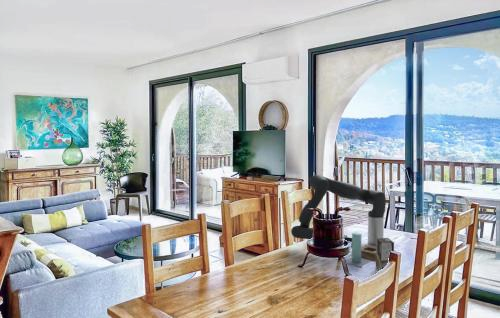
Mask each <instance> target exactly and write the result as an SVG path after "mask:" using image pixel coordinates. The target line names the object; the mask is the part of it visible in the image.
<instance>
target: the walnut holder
mask: <svg viewBox="0 0 500 318" xmlns="http://www.w3.org/2000/svg"><path fill="white" fill-rule="evenodd" d="M350 257H352V254H350ZM361 259H363V260H367V261H371V262H375V263H376V246H373V245H367V244H365V245H363V246H361Z"/></svg>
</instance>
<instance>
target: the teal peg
mask: <svg viewBox="0 0 500 318" xmlns="http://www.w3.org/2000/svg"><path fill="white" fill-rule="evenodd" d="M351 238H352V242H351V255H352V256H351V258H352V262H354V263H361V259H362V258H361V247H362V233H360V232H353V233H351Z"/></svg>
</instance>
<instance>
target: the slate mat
mask: <svg viewBox="0 0 500 318" xmlns="http://www.w3.org/2000/svg"><path fill="white" fill-rule="evenodd" d="M371 262H372V261H371V260H366V259H362V258H361V263H354V262H352V257H350V258H348V259H346V263H347V264H346V265H348V266H353V267H357V268H363V267H364V266H365V265H368V264H370V263H371Z"/></svg>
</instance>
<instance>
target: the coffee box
mask: <svg viewBox="0 0 500 318" xmlns="http://www.w3.org/2000/svg"><path fill="white" fill-rule="evenodd" d="M375 247H376V262H375V268H376V270H377V272H378V271H379V270H381V269H383V268H384V267H385V266H386V265H387V263H388V258H389V253H390V252H391V251H394V252H395V242H394V241H393V240H391V239H390V238H388V237H383V238H376V245H375Z"/></svg>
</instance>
